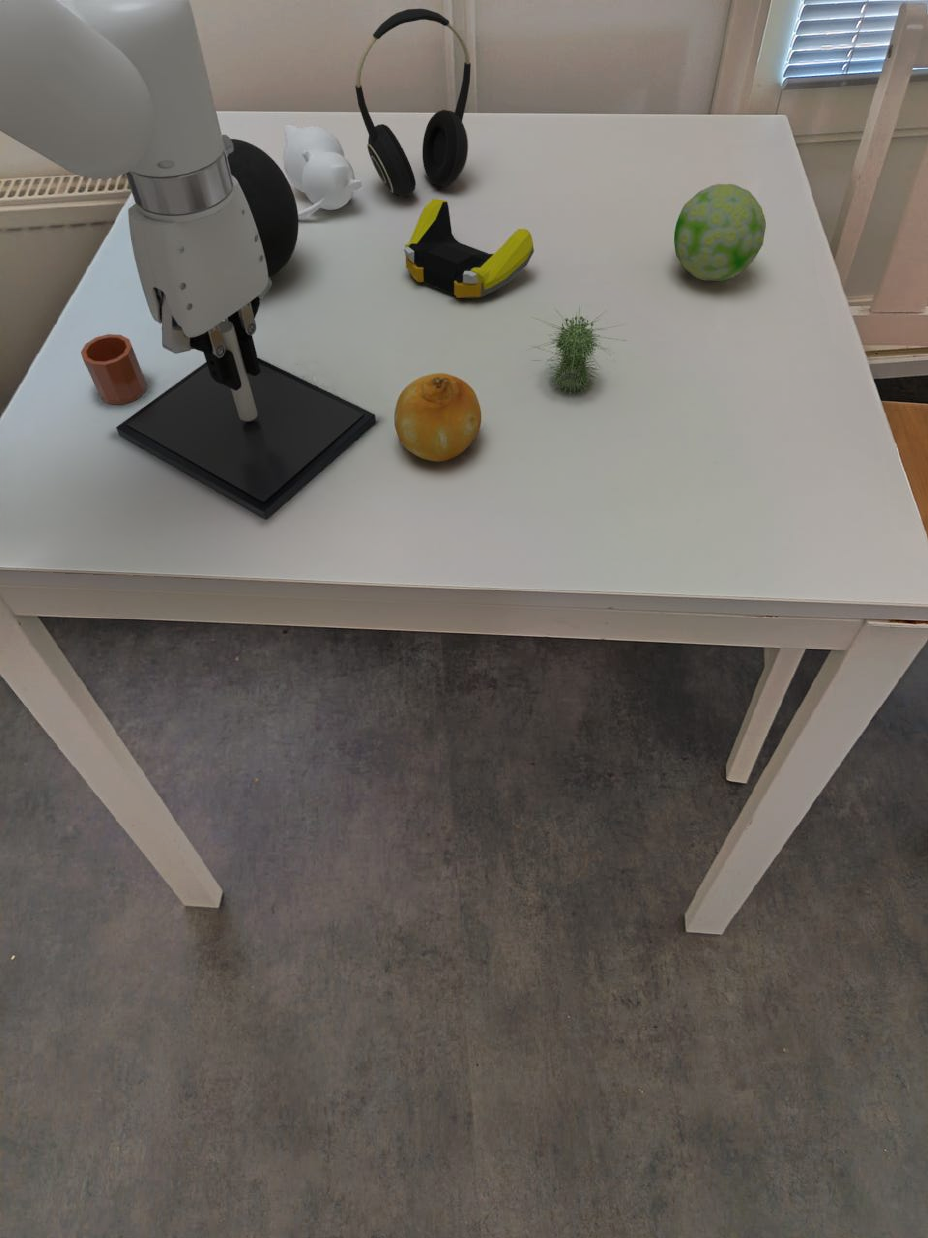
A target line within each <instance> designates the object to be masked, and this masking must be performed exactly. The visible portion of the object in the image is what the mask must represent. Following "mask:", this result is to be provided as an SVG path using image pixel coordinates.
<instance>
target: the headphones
mask: <svg viewBox="0 0 928 1238" xmlns="http://www.w3.org/2000/svg"><path fill="white" fill-rule="evenodd" d="M417 21H431V22H435V23H438V24H441V26H444V27H447V28H448V29H449V30H450V31H452V32H453V34H454V35H455V36H456V38H457V39H458V41H459V43H460V45H461V47H462V50H463V53H464V63H463V72H462V74H463V75H462V81H461V87H460V91H459V96H458V98H457V102H456V106H455V109H454V111H452V110H447V109H442V110H438V111H436V112H435V113H434V114H433V115H432V116H431V117H430V119H429V121H428V123H427V125H426V128H425V130H424V135H423V140H422V151H421V153H422V165H423V169H424V172H425V175H426V177H427V179H428V180H429V181H430V182H431V183H432V184H433V185H435V186H437V187H443V188H444V187H449V186H451V185H452V184H453V183H455V181H457V179H458V178H459V177H460V175H461V174H462V172H463V171H464V169H465V167H466V163H467V161H468V154H469V138H468V137H469V136H468V133H467V130H466V128H465V125H464V123H463V119H464V114H465V110H466V105H467V100H468V96H469V89H470V84H471V69H472V68H471V67H472V63H471V59H470V53H469V50H468V47H467V45H466V42H465V40H464V38H463V36H462V35H461V33H460V32H459V31H458V30H457V28H455V27H454V25H453V24H452V23H451V22H450V21H449V19H447V18H446V17H445V16H443V15H442V14H441V13H440V12H439V13H438V12H436V11H434V10H430V9H427V8H407V9H404V10H401V11H399V12H396V13H394V14H393V15H391V16H390V17H389V18H386V20H384V21H383V22H382V23H381V24H380V25H379V26H378V28H377V29H376V30H375V31H374V32H373V34H372V36H371V39H370V40H369V41H368V43H367V44H366V46H365V48H364V50H363V52H362V54H361V56H360V58H359V61H358V65H357V69H356V75H355V85H354V88H355V93H356V100H357V105H358V108H359V111H360V114H361V118H362V120H363V123H364V126H365V128H366V131H367V133H368V140H367V144H366V146H367V150H368V151H367V152H368V154H369V158H370V160H371V163H372V164H373V167H374V169H375V171H376V174H377V175H378V176H379V178H380V180H381V181H382V183H383V184H384V186H385V187H386V188H387V190H388V191H389V192H390V193H393V194H395V195H397V196H399V197H408V196H409V195H411V194H413V192H414V191H415V189H416V186H417V183H416V178H415V174H414V171H413V168H412V166H411V162H410V161H409V158H408V157H407V155H406V152H405V150H404V148H403V147H402V145H401V143H400V141H399V139H398V138H397V137H396V135H395V133H394V132H393V131H392V130H391V128H390V127H389V126H388V125H386V124H383V123H380V124H377V125H376V126H375V123H374V121H373V119H372V117H371V114H370V112H369V110H368V107H367V103H366V100H365V95H364V91H363V87H362V85H361V76H362V71H363V67H364V63H365V60H366V58H367V56H368V54H369V52H370V50H371V49H372V48H373V46H374V44H376V42H377V41H378V40H380V39H381V38H382V37H383V36H384V35H385V34H387V33H388V32H390V31H391V30H393V29H395V28H396V27H398V26H400V25H403V24H407V23H412V22H417Z"/></svg>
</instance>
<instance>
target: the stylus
mask: <svg viewBox="0 0 928 1238" xmlns="http://www.w3.org/2000/svg"><path fill="white" fill-rule="evenodd" d="M218 325H219V328H220V331H221V334H222V338H223V341H224V344H225V348H226V349H227V350H229V351H231V352H232V353H233V355H234V359H235V362H236V366H237V370H238V373H239V377H240V380H241V384H242V385H241V388H240V389H238V390H237V391H235V390H233V389H231V391H232V395H233V398H234V401H235V405H236V408H237V411H238V415H239V418H240V419H241V420H243V421H247V422H251V421H253V420H254V419H255V418H256V417H257V415H258V413H257V409H256V406H255V402H254V398H253V395H252V391H251V387H250V384H249V380H248V376H247V373H246V369H245V366H244V362H243V358H242V355H241V351H240V347H239V344H238V340H237V336H236V333H235V329H234V325H233V324H232V323H231V322H229V321H225V320H223V321H222V322H220V323H219V324H218Z"/></svg>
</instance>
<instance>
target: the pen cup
mask: <svg viewBox="0 0 928 1238" xmlns="http://www.w3.org/2000/svg"><path fill="white" fill-rule="evenodd" d="M80 354H81V357H82V361H83V362H84V365H85V367H86V369H87V371H88V373H89V376H90V378H91V380H92V383H93V385H94V387H95V389H96V391H97V393H98V395H99V397H100V398H101V399H102V401H104V402H105V403H107V404H109V405H126V404H129V403H132V402H134V401H137V400H138V399H139V398H141V397H142V396H143V395H144V394H145V392H146V391H147V388H148V384H147V381H146V378H145V375H144V373H143V370H142V368H141V366H140V363H139V361H138V357H137V355H136V353H135V351H134V347H133V345H132V343H131V340H130V338H128V337H126V336H124V335H122V334H113V333H112V334H111V333H109V334H108V333H107V334H104V335H99V336H96V337H94V338H93V339H91V340H89V341H88V342H86V343H85V344H84V346H83V347H82V350H81V352H80Z"/></svg>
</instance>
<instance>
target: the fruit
mask: <svg viewBox="0 0 928 1238" xmlns="http://www.w3.org/2000/svg"><path fill="white" fill-rule="evenodd" d="M393 421H394V422H393V423H394V428H395V432H396V434H397V436H398V439H399V441H400V442H401V444H402V446H403V447H405V449H406V450H407V451H409V452H410V453H411V454H413V455H415V456H416V457H418V458H420V459H423V460H425V461H430V462H446V461H449V460H452V459H454V458H456V457H458V456H459V455H461V454H462V453H463V452H464V451H466V450H467V448H468V447H469V446H470V445H471V443H472V442H473V441H474V440H475V438H476V437H477V435H478V433H479V432H480V428H481V425H482V409H481V405H480V402H479V399H478V396H477V394H476V392H475V390H474V389H473V388H472V387H471V386H470V385H469V384H468V383H467V382H466V381H465V380H463V379H461V378H459V377H457V376H455V375H451V374H448V373H441V372H440V373H439V372H438V373H431V374H427V375H424V376H421V377H419V378H416V379H414V380H413V381H412V382H411V383H409V384H408V385H407V386H406V387H405V388H404V389H403V390H402V391H401V392H400V394H399V396H398V399H397V400H396V404H395V409H394V414H393Z"/></svg>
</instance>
